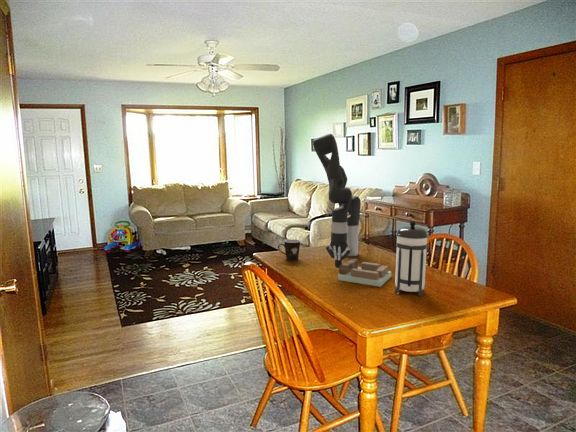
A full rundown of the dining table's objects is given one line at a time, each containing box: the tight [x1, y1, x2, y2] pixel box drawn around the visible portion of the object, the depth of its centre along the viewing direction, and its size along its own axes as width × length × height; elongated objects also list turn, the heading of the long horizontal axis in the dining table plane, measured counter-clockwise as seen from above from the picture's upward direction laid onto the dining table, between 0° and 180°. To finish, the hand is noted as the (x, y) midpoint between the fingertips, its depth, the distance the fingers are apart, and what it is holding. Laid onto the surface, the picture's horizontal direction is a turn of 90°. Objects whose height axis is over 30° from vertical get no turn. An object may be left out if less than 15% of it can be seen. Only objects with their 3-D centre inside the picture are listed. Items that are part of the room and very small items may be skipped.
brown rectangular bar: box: [338, 258, 359, 274], centre depth 205 cm, size 15×3×4 cm, turn 146°
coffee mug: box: [277, 238, 301, 262], centre depth 234 cm, size 12×9×10 cm
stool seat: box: [337, 261, 392, 287], centre depth 201 cm, size 17×20×6 cm
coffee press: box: [394, 220, 429, 297], centre depth 180 cm, size 17×16×30 cm
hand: (338, 267), depth 203 cm, fingers closed
